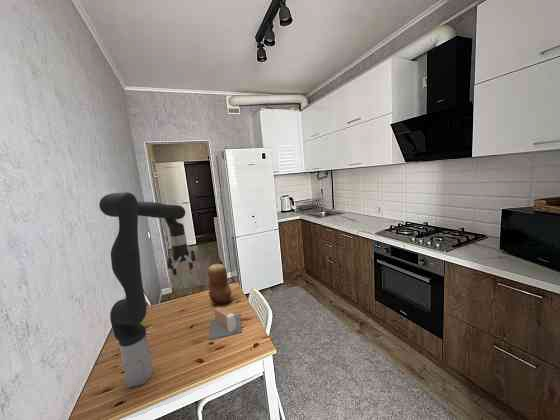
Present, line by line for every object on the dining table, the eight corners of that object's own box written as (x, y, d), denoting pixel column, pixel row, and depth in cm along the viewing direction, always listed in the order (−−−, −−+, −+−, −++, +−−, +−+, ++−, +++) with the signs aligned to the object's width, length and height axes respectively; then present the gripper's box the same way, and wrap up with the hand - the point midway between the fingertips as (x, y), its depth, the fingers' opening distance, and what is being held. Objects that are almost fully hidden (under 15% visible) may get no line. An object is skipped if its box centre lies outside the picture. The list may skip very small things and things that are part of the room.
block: (218, 306, 124) (234, 314, 115) (220, 319, 126) (236, 329, 116) (214, 309, 122) (229, 317, 113) (215, 322, 123) (231, 332, 114)
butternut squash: (232, 295, 153) (228, 260, 150) (231, 305, 140) (226, 267, 137) (211, 298, 151) (206, 263, 148) (208, 309, 138) (203, 270, 135)
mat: (241, 332, 114) (241, 331, 114) (208, 340, 111) (208, 339, 111) (240, 315, 130) (239, 314, 129) (211, 321, 126) (211, 320, 126)
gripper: (168, 247, 112) (173, 278, 115) (195, 240, 123) (199, 268, 125) (162, 245, 117) (167, 275, 120) (188, 239, 128) (192, 266, 130)
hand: (183, 272), depth 122 cm, fingers open, 8 cm apart
